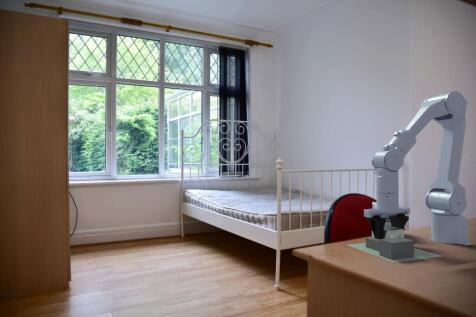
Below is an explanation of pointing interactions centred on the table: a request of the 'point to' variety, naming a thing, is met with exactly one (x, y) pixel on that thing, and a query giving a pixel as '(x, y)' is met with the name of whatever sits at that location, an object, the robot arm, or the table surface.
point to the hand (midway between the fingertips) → (387, 241)
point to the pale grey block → (391, 232)
